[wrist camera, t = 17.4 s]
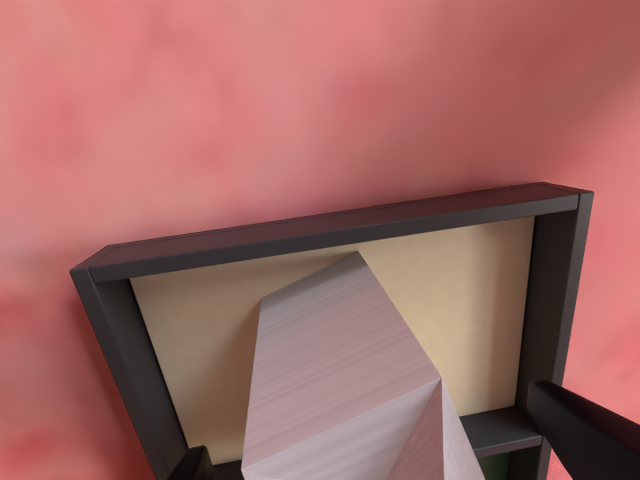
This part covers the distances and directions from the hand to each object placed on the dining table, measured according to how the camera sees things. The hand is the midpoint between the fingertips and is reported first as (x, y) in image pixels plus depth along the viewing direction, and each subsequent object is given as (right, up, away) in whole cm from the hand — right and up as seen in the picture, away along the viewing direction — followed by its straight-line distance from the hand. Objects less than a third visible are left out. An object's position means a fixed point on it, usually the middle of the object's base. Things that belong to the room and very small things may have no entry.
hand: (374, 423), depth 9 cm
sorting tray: (0, -3, +5) cm, 6 cm away
